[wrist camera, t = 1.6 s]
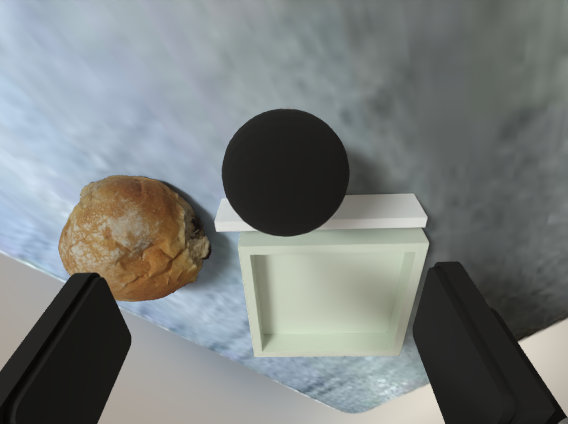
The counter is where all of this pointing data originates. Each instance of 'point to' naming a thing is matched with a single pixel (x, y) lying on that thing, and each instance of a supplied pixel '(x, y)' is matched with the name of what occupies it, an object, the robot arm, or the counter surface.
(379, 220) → the white flat bar
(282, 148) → the light bulb
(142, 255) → the bread roll
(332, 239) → the dish
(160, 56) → the counter surface
